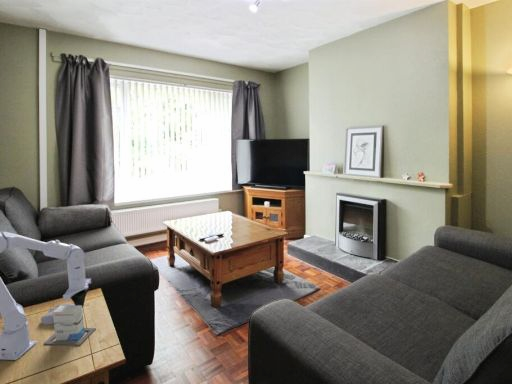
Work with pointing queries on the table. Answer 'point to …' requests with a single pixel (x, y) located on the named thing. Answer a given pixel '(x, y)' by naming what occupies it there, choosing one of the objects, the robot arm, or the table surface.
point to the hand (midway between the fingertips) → (79, 307)
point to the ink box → (68, 322)
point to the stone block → (48, 317)
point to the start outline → (50, 342)
